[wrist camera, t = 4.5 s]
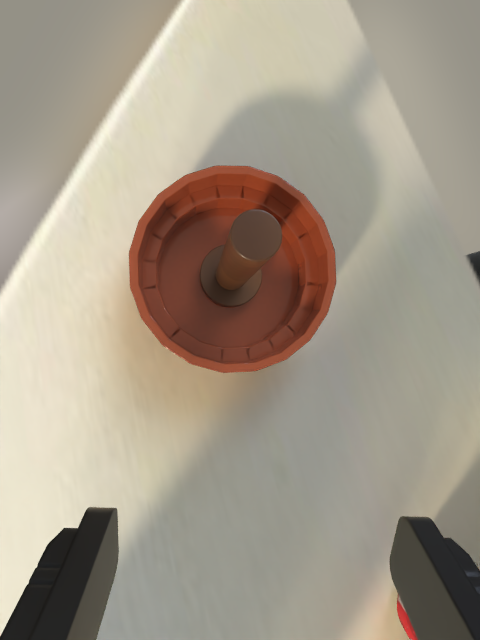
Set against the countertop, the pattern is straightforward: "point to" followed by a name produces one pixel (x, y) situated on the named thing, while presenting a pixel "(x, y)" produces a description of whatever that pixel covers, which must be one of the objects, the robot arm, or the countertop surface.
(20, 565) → the countertop surface
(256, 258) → the masher
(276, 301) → the bowl
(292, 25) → the countertop surface
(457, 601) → the robot arm
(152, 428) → the countertop surface
